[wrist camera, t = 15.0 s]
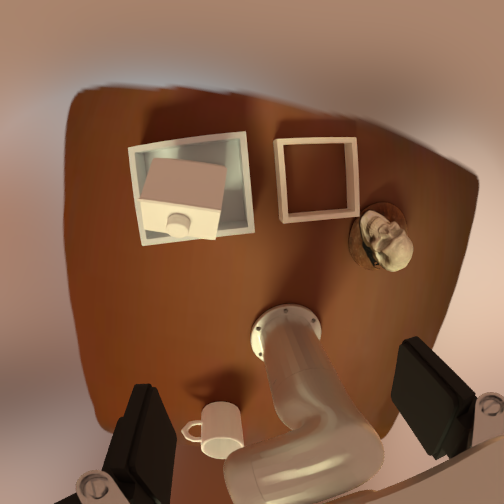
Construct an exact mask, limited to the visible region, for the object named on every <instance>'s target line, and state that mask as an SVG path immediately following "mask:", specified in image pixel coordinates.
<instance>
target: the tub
mask: <svg viewBox="0 0 504 504" xmlns="http://www.w3.org/2000/svg"><path fill="white" fill-rule="evenodd" d="M128 152H129V161H130V170H131V178H132V186H133V193H134V200H135V207H136V213H137V220H138V226H139V231H140V237H141V243H142V246H146V245H154V244H162V243H170V242H178V241H186V240H194V239H203V238H196V237H189V236H186V237H183V238H176V237H173V236H170V235H169V234H168V233H162V232H156V231H149V230H145V229H144V226H143V219H142V211H141V203H140V201H137V199H138V198H140V196H141V193H142V190H143V187H144V184H145V181H146V177H147V174H148V171H149V168H150V166H151V163H152V160H153V158H174V159H184V160H192V161H199V162H206V163H212V164H218V165H224V166H225V167H226V168H227V174H226V181H225V187H224V194H223V201H222V207H221V213H220V218H219V223H218V228H217V234H216V237H220V236H229V235H238V234H246V233H255V227H254V216H253V205H252V193H251V182H250V171H249V160H248V149H247V138H246V131H243V132H232V133H222V134H213V135H204V136H196V137H189V138H181V139H175V140H168V141H162V142H156V143H150V144H145V145H139V146H134V147H129V148H128Z"/></svg>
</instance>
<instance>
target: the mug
mask: <svg viewBox="0 0 504 504" xmlns="http://www.w3.org/2000/svg"><path fill="white" fill-rule="evenodd" d="M194 425H201V437H194V436H192V435H190V434H189V432H188V430H189V428H190V427H191V426H194ZM182 433H183V435H184V436H185V438H186V439H188V440H190V441H192V442H201V449H202V451H203V452H204V453H205V454H206V455H208V456H210V457H213V458H218V459H226V458H227V457H228V455H229V454H230V453H232V452H233V451H235V450H237V449H239V448H242V447H244V442H243V433H242V424H241V415H240V410H239V409H238V407H236V406H235V405H234V404H232V403H229V402H223V401H220V402H213V403H210V404H208V405H206V406H205V407H204V409H203V411H202V420H195V421H190V422H188V423H187V424H186V425H185V427H184V428H183V429H182Z"/></svg>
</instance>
